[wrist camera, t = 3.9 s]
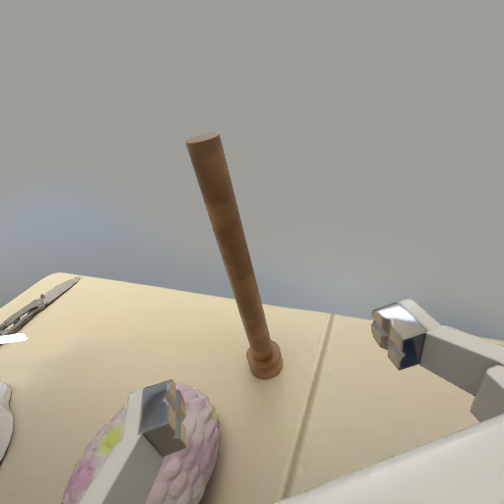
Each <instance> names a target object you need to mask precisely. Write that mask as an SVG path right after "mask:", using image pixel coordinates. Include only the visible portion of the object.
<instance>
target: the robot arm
mask: <svg viewBox="0 0 504 504" xmlns="http://www.w3.org/2000/svg"><path fill="white" fill-rule="evenodd" d="M372 318H373V319H374V322H373V323H372V324H371V331H372V334H373V337H374V339H375V340H376V342H377V343H378V345H379V346H380V347H381V348H383V349H386V350H388V357H389V359H390V360H391V361H392V363H393V364H394V365H395V366H396V368H397V369H398V370H402V369H405V368H408V367H411V366H414V365H417V364H420V366H422V367H424V368H426V369H428V370H429V371H431V372H433V373H435V374H436V375H438V376H440V377H442V378H444V379H445V380H447V381H449V382H451V383H452V384H454V385H456V386H458V387H459V388H461V389H463V390H465V391H467V392H468V393H470V394H472V395H474V396H475V398H474V400H473V403H472V405H471V410H470V411H471V413H472V414H473V415H474V416H475V417H476V418H477V419H478V420H479V422H480V423H477V424H475V425H472V426H470V427H467V428H464V429H462V430H459V431H457V432H454V433H452V434H449V435H447V436H444V437H441V438H439V439H436V440H434V441H431V442H429V443H426V444H424V445H421V446H419V447H416V448H413V449H411V450H408V451H406V452H403V453H401V454H398V455H396V456H393V457H390V458H388V459H385V460H383V461H380V462H378V463H375V464H373V465H370V466H367V467H365V468H362V469H360V470H357V471H355V472H352V473H350V474H347V475H344V476H342V477H339V478H337V479H334V480H332V481H329V482H327V483H324V484H322V485H319V486H316V487H314V488H311V489H309V490H306V491H304V492H301V493H299V494H296V495H293V496H291V497H288V498H286V499H283V500H281V501H278V502H276V503H273V504H504V346H502V345H499V344H496V343H493V342H491V341H488V340H485V339H482V338H479V337H477V336H474V335H471V334H468V333H465V332H462V331H460V330H457V329H454V328H451V327H448V326H444V327H442V326H441V325H440V324H439V323H438V322H437V321H435V320H434V319H433V318H432V317H431V316H430V315H429V314H428V313H426V312H425V311H424V310H423V309H422V308H421V307H420V306H419V305H418V304H416V303H415V302H414V301H413V300H412V299H410V298H407V299H404V300H402V301H399V302H395V303H392V304H389V305H387V306H383V307H381V308H378V309H375V310H373V312H372ZM26 339H27V337H26V336H25V335H24V334H23V333H21V334H14V335H7V336H0V344H1V343H8V342H15V341H23V340H26ZM11 392H12V388H11V386H9V385H8V384H6V383H0V461H1V460H2V458H3V456H4V454H5V451H6V449H7V447H8V444H9V442H10V439H11V435H12V431H13V416H12V413H11V411H10V409H9V400H10V396H11ZM185 417H186V407H185V402H184V398H183V395H182V393H181V392H180V391H179V390H176V384H175V382H174V381H173V380H172V379H171V380H168V381H165V382H162V383H159V384H155V385H152V386H149V387H146V388H143V389H140V390H137V391H134V392H131V393H130V395H129V397H128V403H127V409H126V416H125V422H124V428H123V435H122V440H121V441H119V442H117V444H116V445H115V447H114V448H113V450H112V451H111V453H110V454H109V456H108V458H107V459H106V461H105V462H104V464H103V465H102V467H101V469H100V470H99V472H98V473H97V475H96V476H95V478H94V479H93V481H92V483H91V484H90V486H89V487H88V489H87V490H86V492H85V494H84V495H83V497H82V498H81V500H80V501H79V503H78V504H145V503H146V501H147V498H148V496H149V493H150V491H151V489H152V486H153V484H154V481H155V479H156V477H157V474H158V472H159V470H160V467H161V465H162V462H163V460H164V457H165V456H167V455H170V454H172V453H175V452H177V451H180V450H182V449H185V448H187V434H186V427H185V426H184V424H183V421H184V419H185Z"/></svg>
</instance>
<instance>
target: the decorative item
mask: <svg viewBox="0 0 504 504" xmlns="http://www.w3.org/2000/svg"><path fill="white" fill-rule="evenodd" d="M176 390H179V391H180V392H181V393H182V395H183V398H184V402H185V407H186V417H185V419H184V421H183V424H184V426H185V427H186V434H187V448H185V449H182V450H180V451H177V452H175V453H172V454H170V455H167V456H165V457H164V460H163V462H162V465H161V467H160V470H159V472H158V474H157V477H156V479H155V481H154V484H153V486H152V489H151V491H150V493H149V496H148V498H147V501H146V503H145V504H199V502H200V500H201V499H202V496H203V494H204V492H205V486H206V484H207V482H208V481H209V479H210V477H211V475H212V472H213V470H214V467H215V463H216V461H217V458H218V454H219V442H220V440H221V435H220V430H219V425H220V421H219V420H218V414H217V412H216V411H215V408H214V407H213V405H212V404H211V403H210V401H209V398H208V397H207V396H205V395H202V394H201V392H200V391H199V390H197V389H193V388H192V387H191V386H187V385H186V384H184V383H179V384H176ZM126 409H127V406H126V407H124V408H122V409H121V410H120V411H119V412H118V413H117V414H116V415H115V416H114V417H113V418H112V419H111V420H110V422H109V423H108V424H107V425H105V426H104V427H103V428H102V429H101V430H100V431H99V432H98V434H97V435H96V437H95V438H94V440H93V441H91V443H90V444H89V445H88V446H87V447H86V448H85V451H84V453H83V455H82V457H81V459H80V460H79V461H78V463H77V464H76V465H75V467H74V470H73V472H72V474H71V477H70V480H69V484H68V486H67V488H66V490H65V493H64V497H63V501H62V504H78V503H79V501H80V500H81V498H82V497H83V495H84V494H85V492H86V490H87V489H88V487H89V486H90V484H91V483H92V481H93V479H94V478H95V476H96V475H97V473H98V472H99V470H100V469H101V467H102V465H103V464H104V462H105V461H106V459H107V458H108V456H109V454H110V453H111V451H112V450H113V448H114V447H115V445H116V444H117V442H119V441H121V440H122V435H123V428H124V422H125V416H126Z"/></svg>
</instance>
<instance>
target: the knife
mask: <svg viewBox="0 0 504 504" xmlns="http://www.w3.org/2000/svg"><path fill="white" fill-rule="evenodd" d="M78 279H79V276H78V277H75V278H73V279H71V280H69V281H67V282H64V283H62V284H60V285H58V286H56V287H55V288H53V289H52V290H50V291H49V292H47V293H46V294H45V295H44V294H42V295H41V297H40V298H39V299H37V300H34V301H33V302H31V303H30V304H28V305H27V306H25V307H24V308H22V309H21V310H19V311H18V312H16V313H15V314H13V315H12V316H11V317H9V318H8V319H7V320H5V321H4V322H3V323H2V324H1V325H0V336H7V335H12V334H14V333H15V332H16V331H18V330H19V329H20V328H21V326H22V325H23V324H24V323H26V322H27V321H28V320H30V319H31V315H32V314H33V313H35V312H37V311H40V310H43V309H45V308H46V307H45V305H46V304H49V303H51V301H52V300H53V299H55V298H56V297H57V296H59V295H60V294H62V293H63V292H64V291H66V290H67V289H68V288H70V287H71V286H72V285H73V284H75V283H76V281H77V280H78ZM27 312H28V314H27V315H26V316H25V317H23V318H22V319H20V317H21V316H23V315H24V314H26V313H27ZM12 323H13V324H14V326H13V327H12V328H10V329H7V330H5V329H6V328H7V327H8V326H9V325H11V324H12Z"/></svg>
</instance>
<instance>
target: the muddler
mask: <svg viewBox="0 0 504 504" xmlns="http://www.w3.org/2000/svg"><path fill="white" fill-rule="evenodd" d="M186 146H187V148H188V152H189V155H190V158H191V161H192V164H193V168H194V170H195V174H196V177H197V180H198V183H199V186H200V190H201V193H202V196H203V199H204V202H205V205H206V209H207V212H208V215H209V218H210V221H211V224H212V227H213V231H214V234H215V237H216V240H217V243H218V246H219V249H220V253H221V256H222V259H223V262H224V265H225V268H226V272H227V275H228V278H229V281H230V284H231V287H232V290H233V294H234V297H235V300H236V303H237V306H238V309H239V312H240V316H241V319H242V322H243V325H244V328H245V331H246V335H247V338H248V341H249V344H250V347H249V349H248V351H247V360H248V363H249V366H250V369H251V371H252V373H253V374H254V375H255V376H256V377H258V378H260V379H270V378H273V377H274V376H276V375H277V374H278V373H279V372H280V370H281V368H282V365H283V362H282V357H281V352H280V348H279V346H278V345H277V344H276V343H275V342H274V341H272V340H271V339H270V335H269V331H268V327H267V323H266V319H265V315H264V311H263V307H262V303H261V299H260V295H259V291H258V287H257V283H256V279H255V275H254V271H253V267H252V263H251V259H250V255H249V251H248V247H247V243H246V239H245V235H244V231H243V227H242V223H241V219H240V215H239V211H238V207H237V203H236V199H235V195H234V191H233V187H232V183H231V179H230V175H229V171H228V167H227V163H226V159H225V155H224V151H223V147H222V143H221V139H220V135H219V133H209V134H203V135H200V136H196V137H193V138H191V139H189V140H187V141H186Z"/></svg>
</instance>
